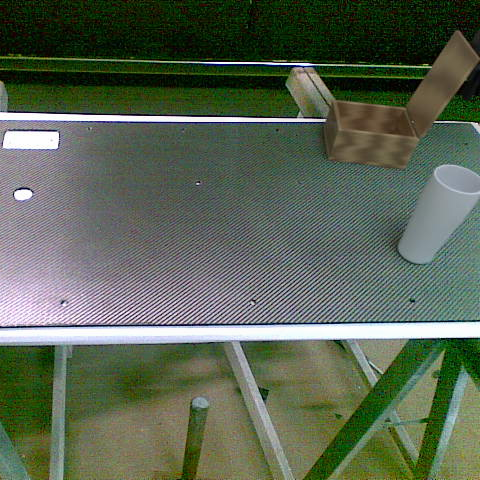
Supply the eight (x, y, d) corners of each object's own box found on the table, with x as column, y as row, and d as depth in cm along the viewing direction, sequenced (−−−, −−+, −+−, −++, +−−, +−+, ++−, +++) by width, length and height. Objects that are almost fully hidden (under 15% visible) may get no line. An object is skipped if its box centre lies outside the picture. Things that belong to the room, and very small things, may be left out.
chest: (328, 160, 93) (338, 130, 88) (323, 128, 101) (332, 99, 96) (404, 169, 91) (420, 139, 87) (393, 137, 100) (406, 107, 95)
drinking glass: (416, 234, 79) (461, 160, 68) (445, 264, 74) (498, 189, 63) (382, 243, 77) (422, 168, 66) (410, 273, 72) (458, 198, 62)
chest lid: (476, 57, 75) (533, 74, 76) (456, 29, 84) (507, 44, 84) (419, 137, 86) (469, 151, 87) (405, 105, 94) (451, 118, 95)
